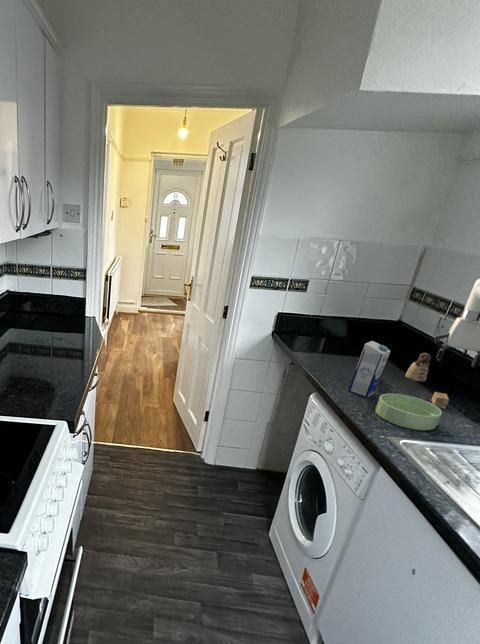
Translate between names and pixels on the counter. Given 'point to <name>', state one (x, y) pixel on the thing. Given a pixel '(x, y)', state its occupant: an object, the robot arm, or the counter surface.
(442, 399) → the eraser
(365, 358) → the milk carton
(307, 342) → the counter surface
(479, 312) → the robot arm
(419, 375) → the figurine
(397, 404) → the bowl
